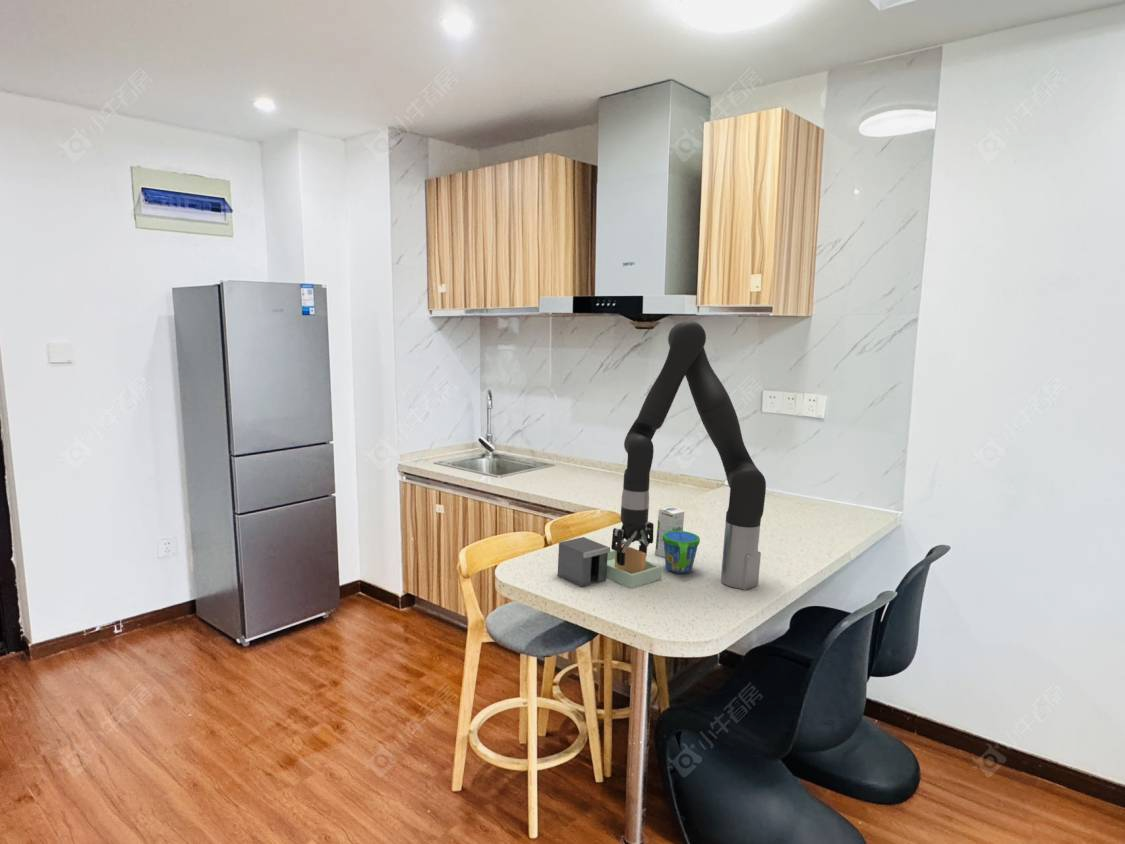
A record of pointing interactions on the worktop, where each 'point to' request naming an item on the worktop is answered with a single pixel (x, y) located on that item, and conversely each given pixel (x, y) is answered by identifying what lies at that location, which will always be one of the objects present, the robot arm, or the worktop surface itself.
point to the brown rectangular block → (632, 560)
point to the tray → (635, 579)
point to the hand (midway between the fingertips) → (631, 561)
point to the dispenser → (582, 561)
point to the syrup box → (668, 526)
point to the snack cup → (680, 550)
